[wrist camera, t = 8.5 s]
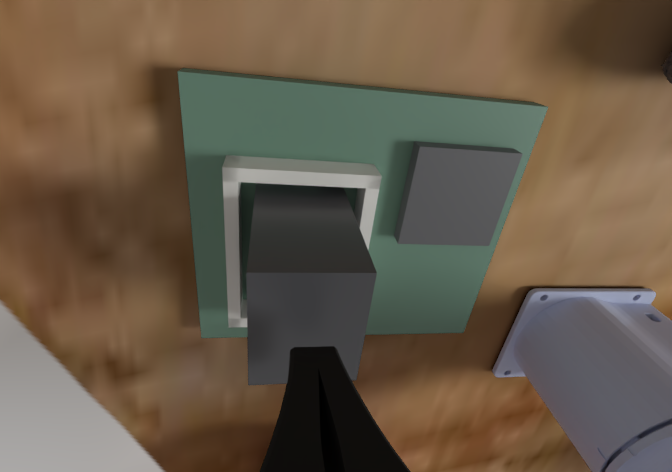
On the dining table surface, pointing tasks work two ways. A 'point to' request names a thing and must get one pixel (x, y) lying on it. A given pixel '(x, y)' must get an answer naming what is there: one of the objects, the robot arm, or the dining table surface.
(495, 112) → the board
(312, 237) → the plug
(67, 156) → the dining table surface
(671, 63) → the perforated stone tool
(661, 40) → the dining table surface
